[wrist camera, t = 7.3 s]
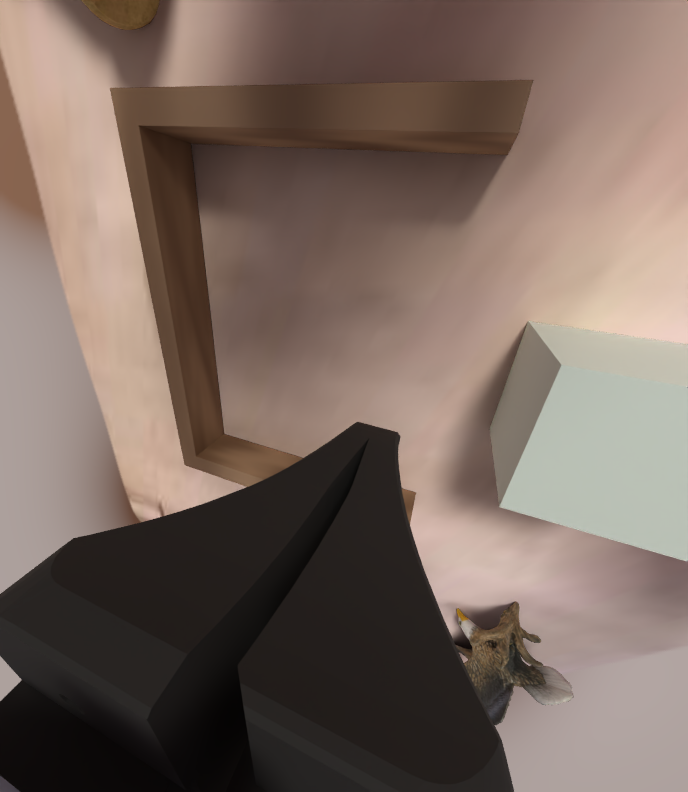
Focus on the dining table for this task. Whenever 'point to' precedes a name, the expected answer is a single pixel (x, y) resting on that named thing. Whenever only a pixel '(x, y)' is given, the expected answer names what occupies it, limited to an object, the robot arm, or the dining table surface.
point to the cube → (597, 435)
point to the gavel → (124, 12)
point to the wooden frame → (279, 127)
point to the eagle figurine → (508, 665)
